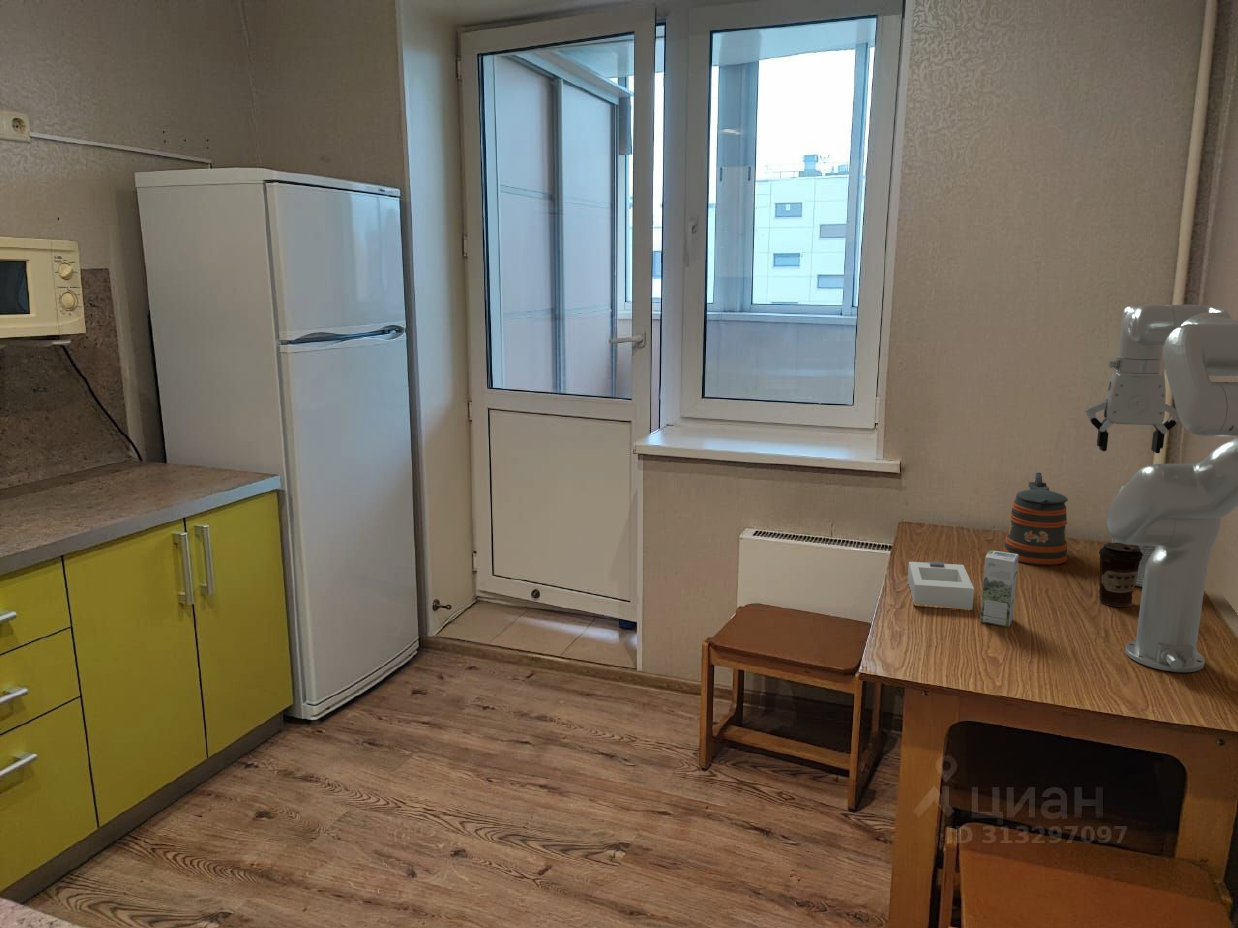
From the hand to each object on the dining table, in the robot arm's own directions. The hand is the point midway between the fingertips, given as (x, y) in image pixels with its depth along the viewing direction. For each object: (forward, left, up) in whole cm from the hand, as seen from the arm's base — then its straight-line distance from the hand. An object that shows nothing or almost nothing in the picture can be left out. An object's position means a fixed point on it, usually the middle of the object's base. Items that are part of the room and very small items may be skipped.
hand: (1128, 451), depth 178 cm
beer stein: (+39, +7, -35) cm, 53 cm away
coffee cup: (+6, -3, -35) cm, 36 cm away
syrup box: (-10, +24, -35) cm, 44 cm away
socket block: (+3, +34, -35) cm, 49 cm away
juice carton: (+22, -11, -35) cm, 43 cm away
